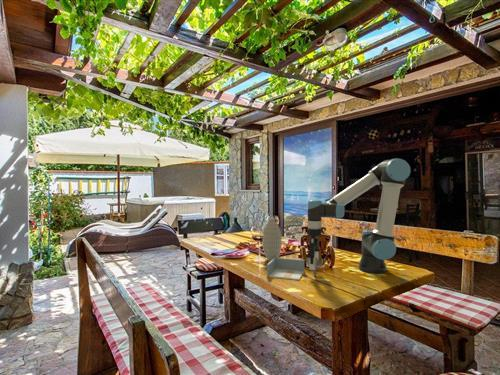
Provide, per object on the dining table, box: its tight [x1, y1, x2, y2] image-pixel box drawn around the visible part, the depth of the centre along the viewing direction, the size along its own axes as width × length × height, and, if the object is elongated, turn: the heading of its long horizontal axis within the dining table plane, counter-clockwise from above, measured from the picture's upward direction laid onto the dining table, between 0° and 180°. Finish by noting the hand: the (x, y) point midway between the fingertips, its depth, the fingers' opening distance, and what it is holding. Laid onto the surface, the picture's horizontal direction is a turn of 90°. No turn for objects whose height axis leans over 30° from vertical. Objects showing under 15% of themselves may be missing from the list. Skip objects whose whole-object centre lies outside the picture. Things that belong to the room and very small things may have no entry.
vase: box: [262, 217, 283, 262], centre depth 198 cm, size 13×13×28 cm
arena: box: [266, 257, 305, 281], centre depth 169 cm, size 18×15×7 cm
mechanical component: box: [304, 257, 325, 278], centre depth 164 cm, size 3×10×10 cm, turn 78°
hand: (314, 266), depth 164 cm, fingers open, 13 cm apart
